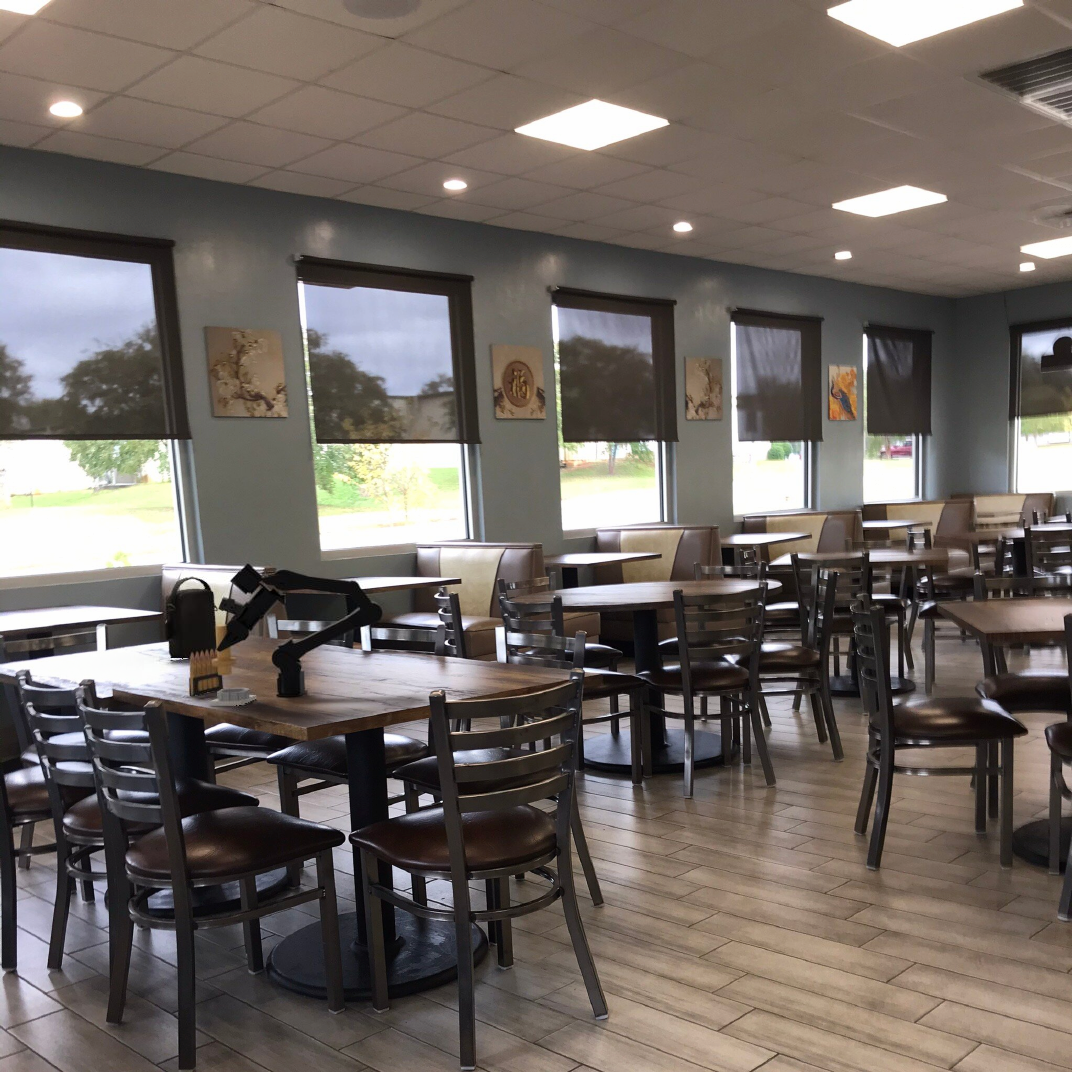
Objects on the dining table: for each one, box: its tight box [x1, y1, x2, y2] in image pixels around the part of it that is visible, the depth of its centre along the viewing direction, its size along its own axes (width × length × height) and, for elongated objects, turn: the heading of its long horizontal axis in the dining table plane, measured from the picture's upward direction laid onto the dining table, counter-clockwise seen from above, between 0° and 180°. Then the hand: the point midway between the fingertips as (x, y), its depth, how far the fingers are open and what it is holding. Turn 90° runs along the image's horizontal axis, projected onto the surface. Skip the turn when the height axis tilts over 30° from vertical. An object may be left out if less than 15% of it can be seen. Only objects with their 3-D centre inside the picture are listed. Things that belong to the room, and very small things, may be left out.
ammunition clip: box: [188, 648, 224, 697], centre depth 290 cm, size 11×2×12 cm, turn 150°
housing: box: [209, 687, 257, 707], centre depth 273 cm, size 9×9×3 cm
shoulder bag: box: [157, 576, 219, 662], centre depth 365 cm, size 23×9×28 cm, turn 151°
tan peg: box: [212, 624, 238, 676], centre depth 278 cm, size 6×6×13 cm
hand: (218, 649), depth 277 cm, fingers closed on tan peg, 4 cm apart
